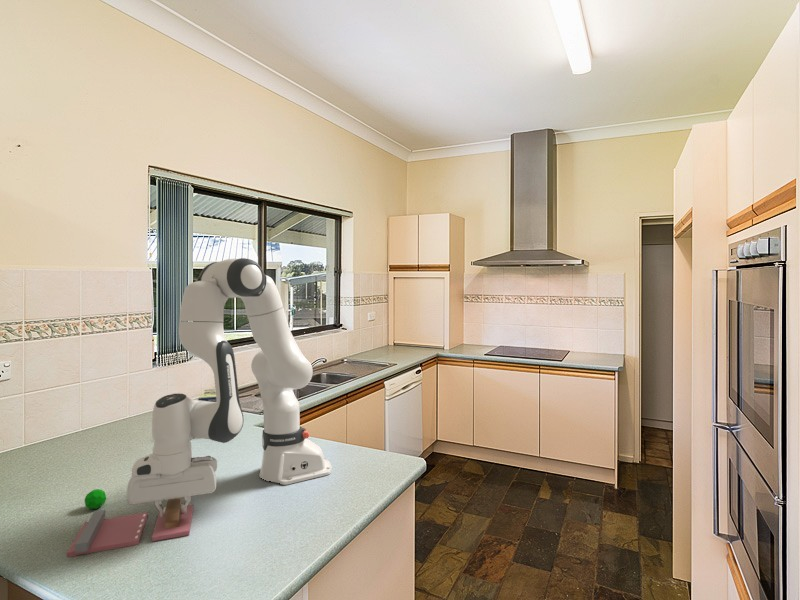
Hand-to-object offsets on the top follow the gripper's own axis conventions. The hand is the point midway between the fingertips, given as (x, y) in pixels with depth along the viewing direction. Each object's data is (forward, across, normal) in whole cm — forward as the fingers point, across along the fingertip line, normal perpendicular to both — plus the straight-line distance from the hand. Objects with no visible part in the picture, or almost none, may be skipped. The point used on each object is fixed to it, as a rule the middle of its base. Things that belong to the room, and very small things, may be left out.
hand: (173, 514), depth 117 cm
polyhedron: (+3, +21, -17) cm, 27 cm away
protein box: (+3, -8, -75) cm, 75 cm away
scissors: (+3, +11, -44) cm, 45 cm away
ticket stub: (+2, 0, 0) cm, 2 cm away
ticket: (+2, +14, 0) cm, 14 cm away
